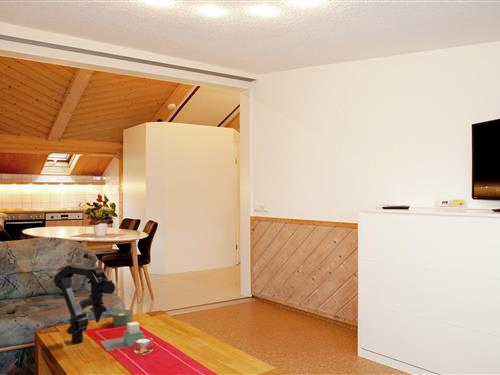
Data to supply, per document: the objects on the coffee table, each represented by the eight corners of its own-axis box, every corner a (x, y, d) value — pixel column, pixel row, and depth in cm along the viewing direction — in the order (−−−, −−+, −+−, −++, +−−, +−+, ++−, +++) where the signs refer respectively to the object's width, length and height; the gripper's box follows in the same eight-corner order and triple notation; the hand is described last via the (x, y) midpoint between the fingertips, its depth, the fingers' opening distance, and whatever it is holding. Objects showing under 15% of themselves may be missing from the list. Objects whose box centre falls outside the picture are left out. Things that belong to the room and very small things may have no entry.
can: (134, 320, 275) (134, 309, 275) (130, 326, 263) (130, 315, 263) (115, 321, 274) (114, 310, 274) (110, 327, 262) (109, 315, 262)
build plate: (100, 343, 236) (100, 330, 236) (136, 336, 245) (135, 324, 245) (107, 352, 222) (106, 339, 222) (144, 345, 231) (144, 332, 231)
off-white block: (127, 332, 234) (127, 323, 234) (136, 330, 236) (136, 321, 236) (129, 335, 229) (129, 325, 229) (139, 333, 232) (139, 324, 232)
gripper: (77, 290, 233) (77, 320, 234) (83, 298, 217) (83, 330, 217) (99, 287, 239) (99, 316, 239) (106, 295, 223) (107, 326, 223)
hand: (97, 322), depth 229 cm, fingers closed
